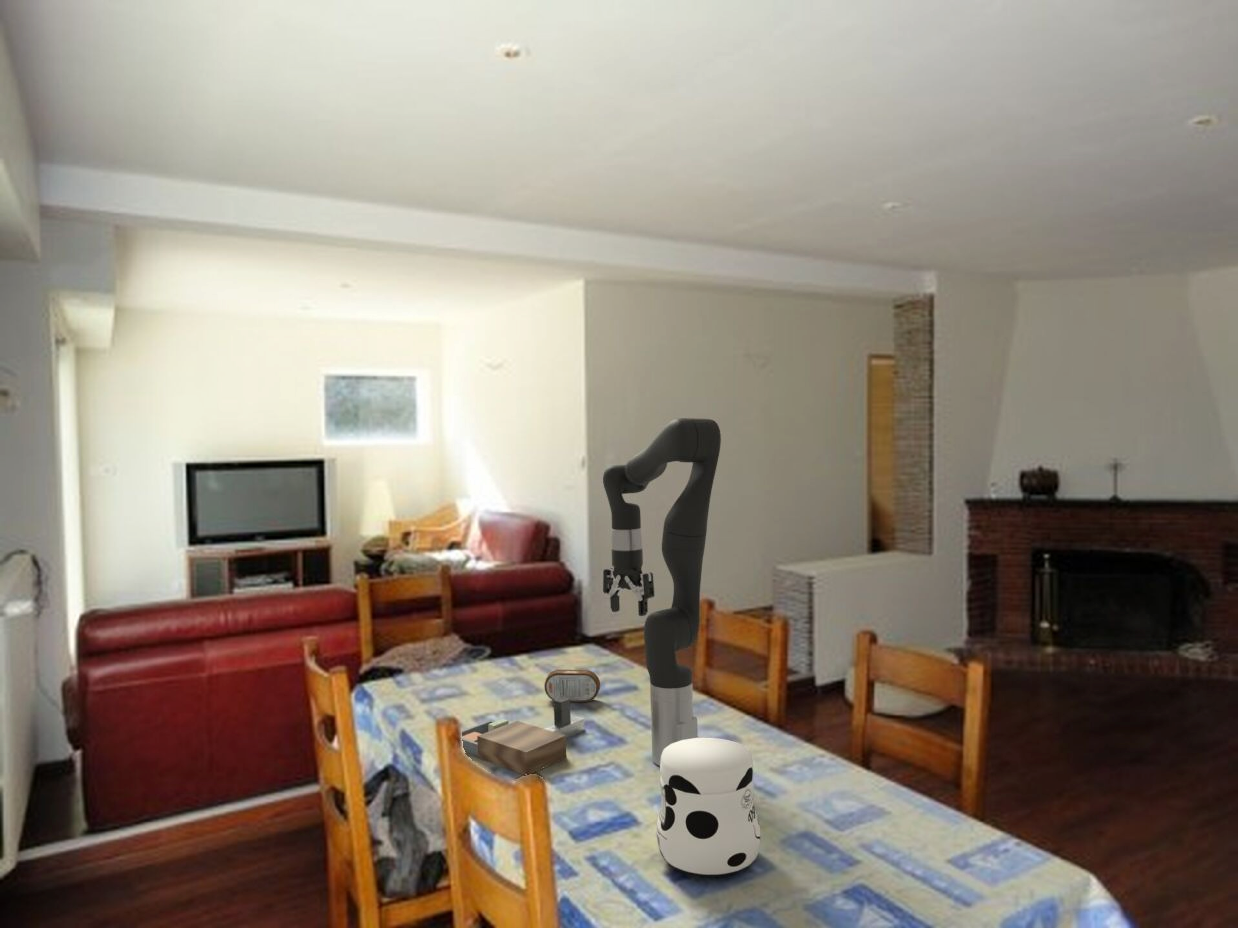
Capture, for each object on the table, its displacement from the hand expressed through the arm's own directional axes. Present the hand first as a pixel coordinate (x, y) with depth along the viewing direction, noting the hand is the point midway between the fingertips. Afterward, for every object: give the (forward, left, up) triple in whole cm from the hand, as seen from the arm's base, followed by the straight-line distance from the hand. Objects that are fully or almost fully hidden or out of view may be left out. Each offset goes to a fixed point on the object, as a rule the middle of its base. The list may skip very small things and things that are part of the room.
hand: (628, 613), depth 202 cm
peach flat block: (+22, +32, -26) cm, 46 cm away
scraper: (+10, +14, -28) cm, 33 cm away
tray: (+21, +29, -28) cm, 45 cm away
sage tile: (+18, +26, -25) cm, 41 cm away
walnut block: (+8, +29, -28) cm, 41 cm away
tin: (+26, -6, -28) cm, 39 cm away
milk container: (-50, +40, -28) cm, 70 cm away
